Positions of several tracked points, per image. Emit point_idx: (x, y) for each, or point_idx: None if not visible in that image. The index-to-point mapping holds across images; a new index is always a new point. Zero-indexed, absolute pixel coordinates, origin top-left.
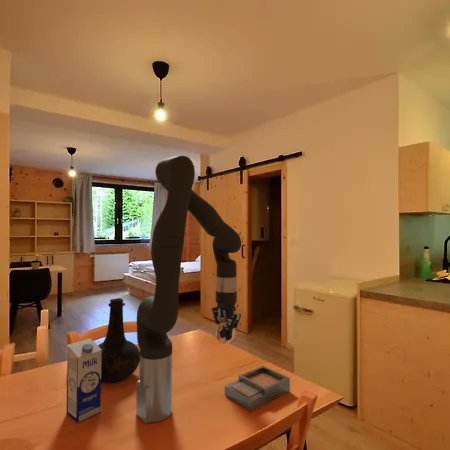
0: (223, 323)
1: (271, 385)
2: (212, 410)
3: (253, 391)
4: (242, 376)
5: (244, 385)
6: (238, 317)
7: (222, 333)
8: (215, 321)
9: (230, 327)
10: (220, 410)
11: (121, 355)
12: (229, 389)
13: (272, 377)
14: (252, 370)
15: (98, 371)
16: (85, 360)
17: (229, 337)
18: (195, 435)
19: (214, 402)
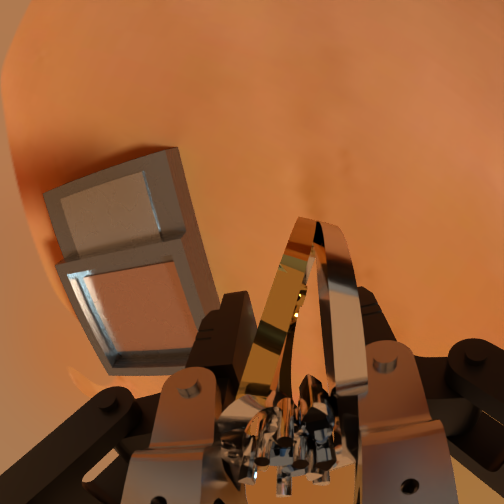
0: (277, 425)
1: (73, 300)
2: (110, 69)
3: (83, 233)
4: (163, 248)
5: (128, 226)
6: None
7: None
8: (500, 355)
9: (97, 404)
10: (99, 95)
11: None
12: (137, 158)
13: (153, 348)
14: (200, 317)
15: None
16: None
17: (203, 328)
18: (48, 10)
19: (148, 90)
